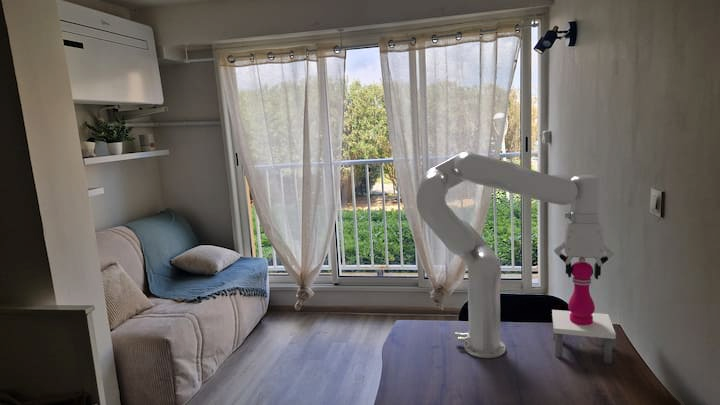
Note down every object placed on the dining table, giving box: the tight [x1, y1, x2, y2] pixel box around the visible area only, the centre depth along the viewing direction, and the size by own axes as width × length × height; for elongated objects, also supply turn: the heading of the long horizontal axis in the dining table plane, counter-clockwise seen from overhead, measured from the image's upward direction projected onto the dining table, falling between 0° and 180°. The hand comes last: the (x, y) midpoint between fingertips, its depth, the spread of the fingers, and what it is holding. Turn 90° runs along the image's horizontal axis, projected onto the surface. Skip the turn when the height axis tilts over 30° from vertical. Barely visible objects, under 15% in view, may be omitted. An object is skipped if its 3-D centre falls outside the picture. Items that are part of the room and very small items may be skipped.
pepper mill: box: [567, 257, 596, 325], centre depth 137 cm, size 7×7×20 cm
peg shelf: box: [551, 309, 617, 365], centre depth 139 cm, size 16×14×10 cm
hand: (582, 276), depth 136 cm, fingers open, 6 cm apart
